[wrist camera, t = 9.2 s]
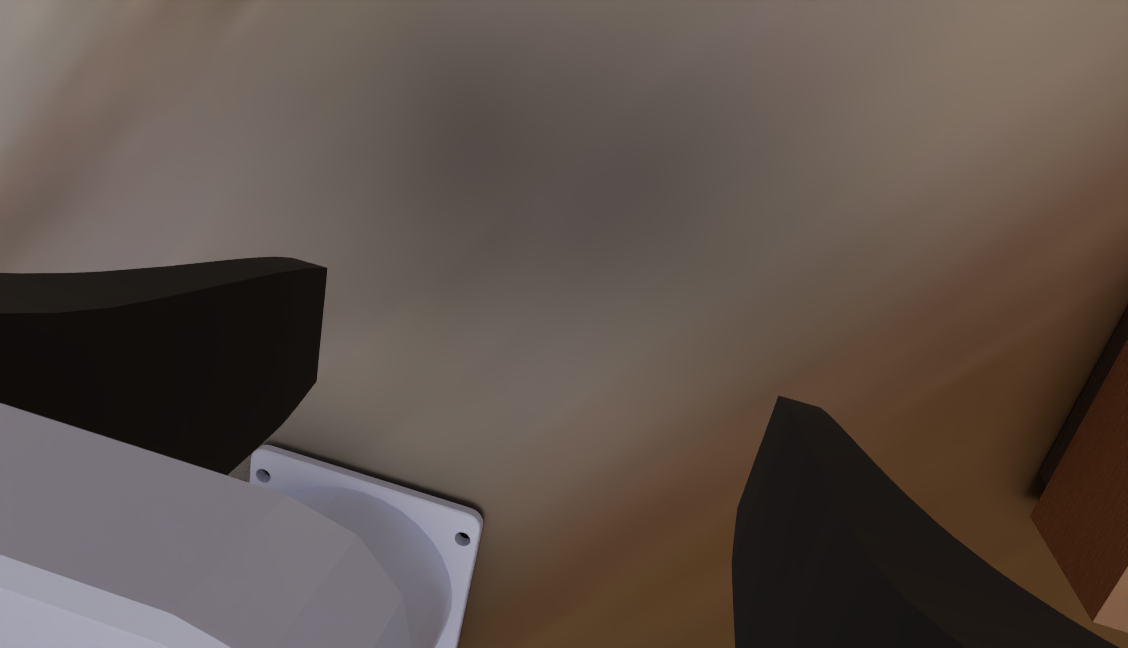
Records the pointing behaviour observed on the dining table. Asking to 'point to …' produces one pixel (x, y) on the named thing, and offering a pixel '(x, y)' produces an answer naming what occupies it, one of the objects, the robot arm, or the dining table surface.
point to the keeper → (1085, 399)
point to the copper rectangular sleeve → (1094, 504)
